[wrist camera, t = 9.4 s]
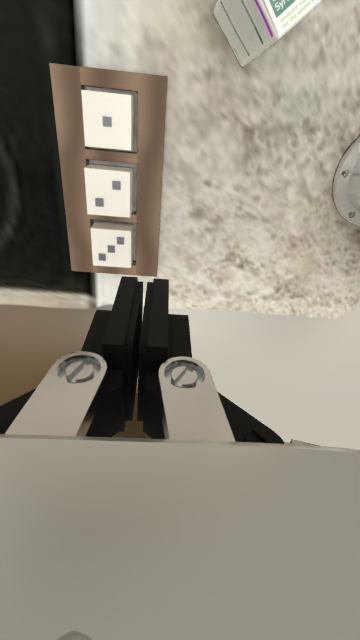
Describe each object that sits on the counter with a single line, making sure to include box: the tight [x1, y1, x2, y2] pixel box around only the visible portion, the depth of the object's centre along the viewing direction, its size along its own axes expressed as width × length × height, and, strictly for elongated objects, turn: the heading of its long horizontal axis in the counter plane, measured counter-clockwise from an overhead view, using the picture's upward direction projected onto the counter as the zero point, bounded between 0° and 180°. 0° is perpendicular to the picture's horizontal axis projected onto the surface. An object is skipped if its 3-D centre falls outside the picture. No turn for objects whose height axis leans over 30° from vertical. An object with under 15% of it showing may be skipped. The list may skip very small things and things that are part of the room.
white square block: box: [91, 221, 133, 268], centre depth 42 cm, size 5×5×3 cm
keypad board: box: [49, 63, 167, 277], centre depth 39 cm, size 12×23×2 cm, turn 175°
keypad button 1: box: [81, 90, 134, 151], centre depth 34 cm, size 5×5×3 cm
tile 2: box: [84, 164, 133, 218], centre depth 37 cm, size 5×5×3 cm
